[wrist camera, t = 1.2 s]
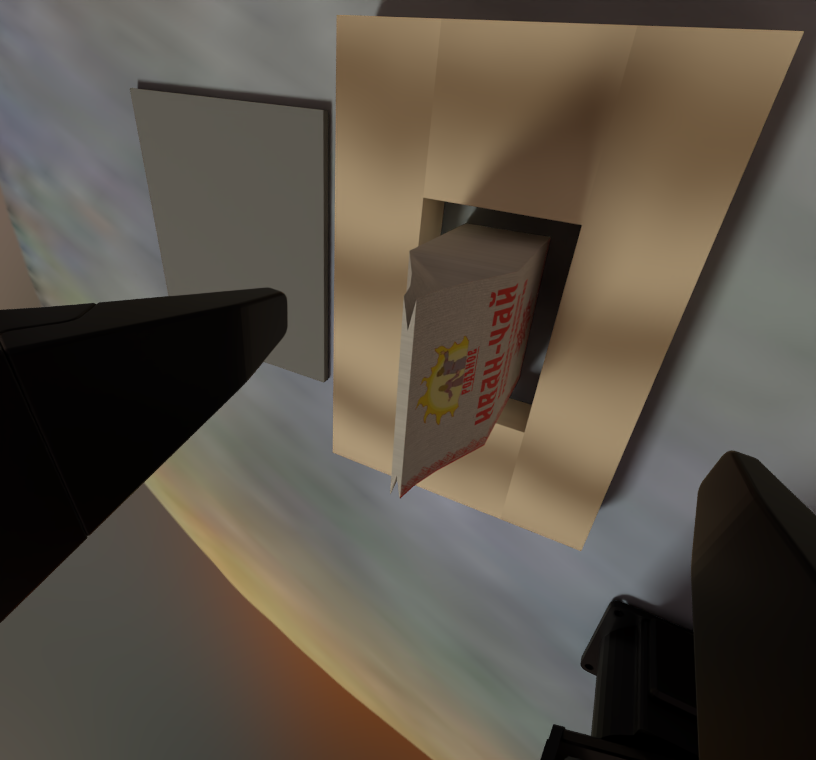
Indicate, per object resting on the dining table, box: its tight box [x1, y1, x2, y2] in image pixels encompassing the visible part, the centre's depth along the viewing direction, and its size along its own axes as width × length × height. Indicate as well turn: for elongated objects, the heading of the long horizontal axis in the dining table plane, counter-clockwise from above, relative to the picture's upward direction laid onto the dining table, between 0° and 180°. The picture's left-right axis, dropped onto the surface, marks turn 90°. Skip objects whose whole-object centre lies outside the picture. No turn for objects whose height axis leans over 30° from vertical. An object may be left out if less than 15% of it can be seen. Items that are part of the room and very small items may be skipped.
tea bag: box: [390, 223, 551, 498], centre depth 17 cm, size 4×7×10 cm, turn 177°
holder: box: [333, 15, 804, 551], centre depth 20 cm, size 20×14×2 cm
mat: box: [130, 88, 328, 382], centre depth 26 cm, size 14×12×1 cm
